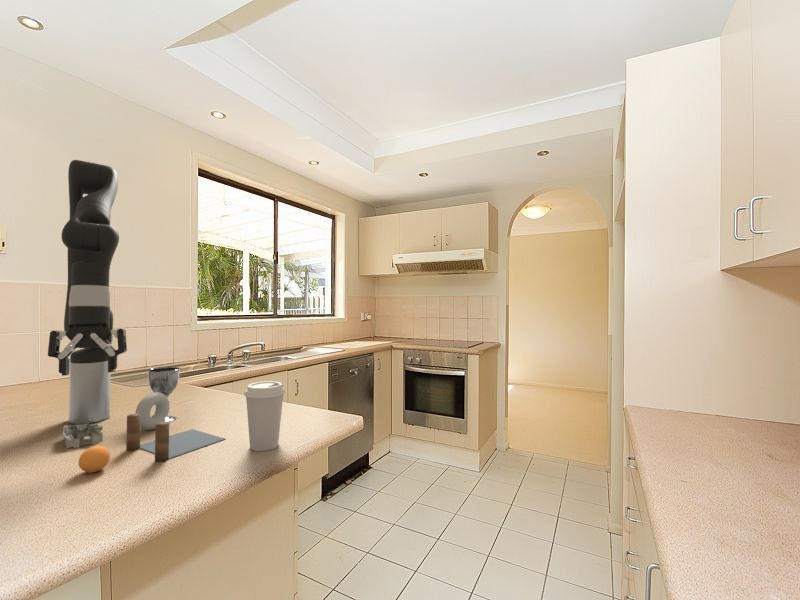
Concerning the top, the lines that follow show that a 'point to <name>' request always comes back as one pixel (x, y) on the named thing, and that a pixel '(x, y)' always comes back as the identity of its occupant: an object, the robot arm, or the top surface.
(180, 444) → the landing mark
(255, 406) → the coffee cup
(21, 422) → the top surface
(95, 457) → the ball
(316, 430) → the top surface
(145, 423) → the donut
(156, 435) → the post
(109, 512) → the top surface
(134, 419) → the post
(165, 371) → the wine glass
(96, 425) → the egg carton
